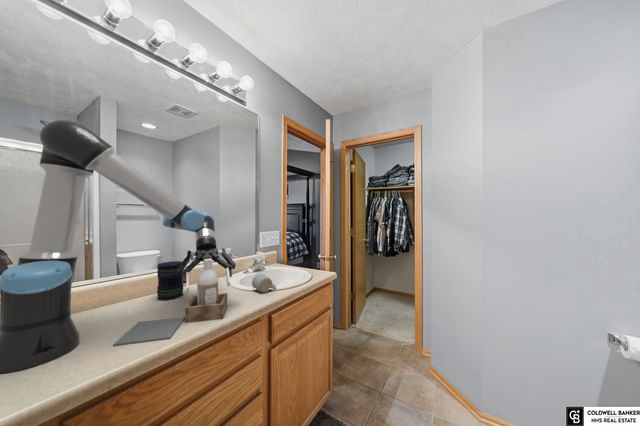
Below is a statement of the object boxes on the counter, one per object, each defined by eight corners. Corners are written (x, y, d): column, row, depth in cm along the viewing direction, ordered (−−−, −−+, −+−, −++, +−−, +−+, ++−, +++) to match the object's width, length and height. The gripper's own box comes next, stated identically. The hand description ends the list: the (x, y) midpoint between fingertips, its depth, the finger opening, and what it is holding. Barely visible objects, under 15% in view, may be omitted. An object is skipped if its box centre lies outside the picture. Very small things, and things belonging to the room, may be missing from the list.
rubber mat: (113, 346, 63) (113, 344, 63) (138, 323, 77) (138, 321, 77) (170, 338, 67) (170, 337, 67) (185, 318, 80) (185, 316, 80)
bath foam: (200, 319, 79) (200, 262, 79) (194, 313, 84) (194, 259, 84) (221, 313, 84) (221, 259, 84) (214, 308, 89) (214, 257, 89)
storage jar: (159, 294, 104) (160, 262, 105) (184, 291, 109) (184, 260, 109) (154, 302, 95) (154, 266, 96) (181, 298, 100) (182, 264, 100)
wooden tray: (184, 322, 77) (184, 308, 77) (194, 308, 88) (194, 296, 88) (223, 318, 80) (223, 304, 80) (227, 305, 92) (227, 293, 92)
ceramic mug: (259, 295, 104) (259, 278, 104) (251, 290, 110) (251, 274, 110) (279, 290, 111) (279, 274, 111) (270, 286, 117) (271, 271, 117)
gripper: (235, 245, 105) (242, 286, 92) (171, 249, 92) (168, 298, 79) (238, 234, 100) (245, 276, 87) (170, 237, 88) (167, 287, 74)
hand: (209, 287), depth 83 cm, fingers open, 13 cm apart
